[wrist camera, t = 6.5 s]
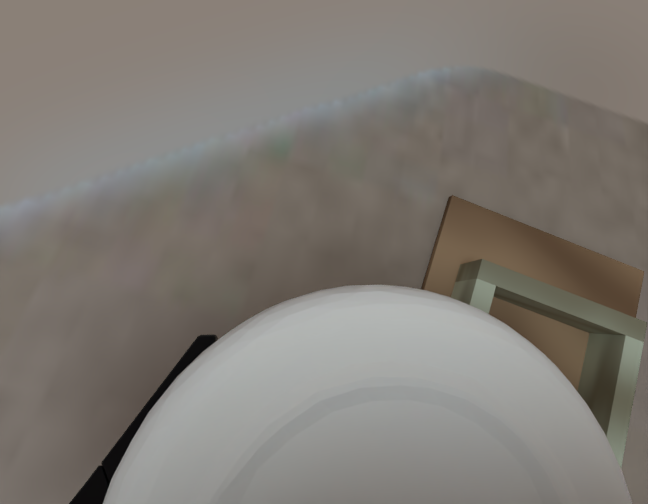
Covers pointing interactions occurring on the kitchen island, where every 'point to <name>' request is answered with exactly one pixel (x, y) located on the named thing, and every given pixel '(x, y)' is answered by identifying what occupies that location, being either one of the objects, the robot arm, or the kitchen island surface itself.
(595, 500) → the sprinkles bottle
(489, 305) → the cradle
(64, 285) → the kitchen island surface
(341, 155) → the kitchen island surface
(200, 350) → the robot arm
